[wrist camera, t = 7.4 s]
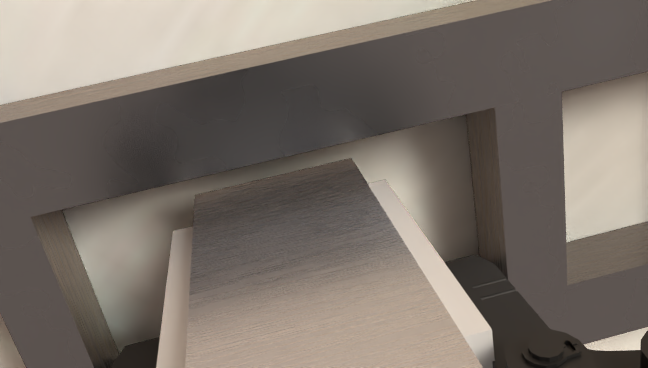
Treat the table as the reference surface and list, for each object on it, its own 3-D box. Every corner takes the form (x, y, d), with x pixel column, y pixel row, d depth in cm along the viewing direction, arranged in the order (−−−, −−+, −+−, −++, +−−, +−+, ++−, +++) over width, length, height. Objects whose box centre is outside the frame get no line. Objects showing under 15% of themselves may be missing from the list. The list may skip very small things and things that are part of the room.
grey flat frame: (-47, 115, 15) (-83, 141, 13) (793, -70, 17) (866, -70, 15) (93, 428, 19) (81, 481, 17) (757, 250, 20) (811, 282, 19)
